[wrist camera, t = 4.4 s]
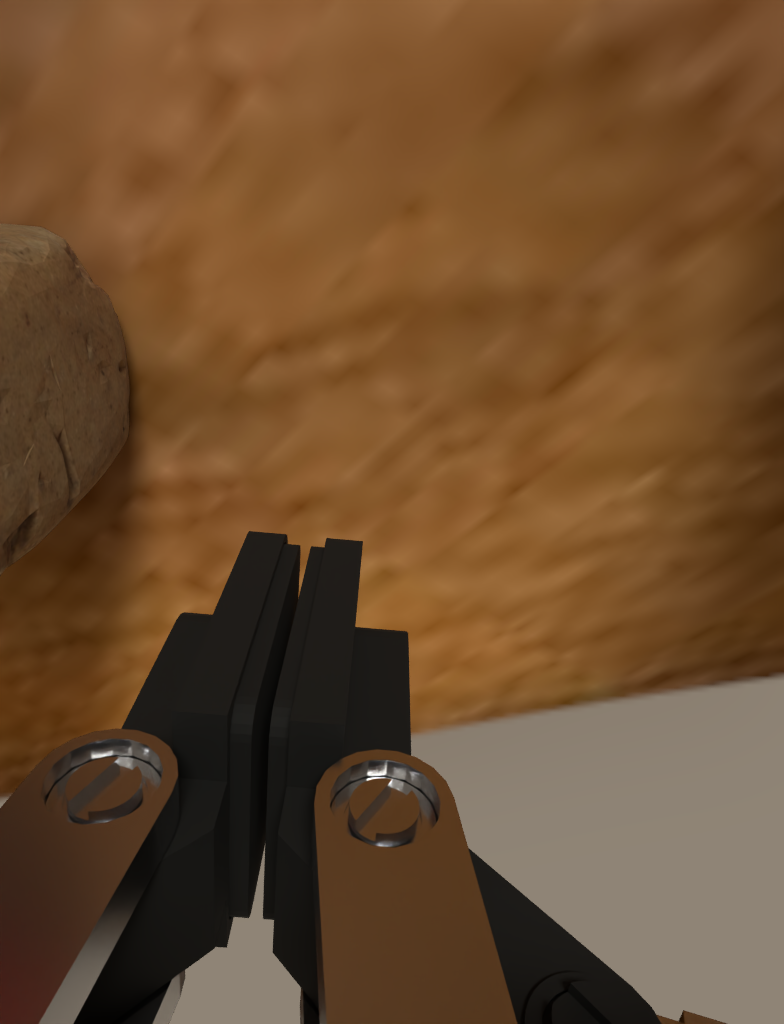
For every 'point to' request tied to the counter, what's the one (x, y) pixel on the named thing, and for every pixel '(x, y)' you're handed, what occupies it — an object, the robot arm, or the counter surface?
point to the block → (53, 386)
